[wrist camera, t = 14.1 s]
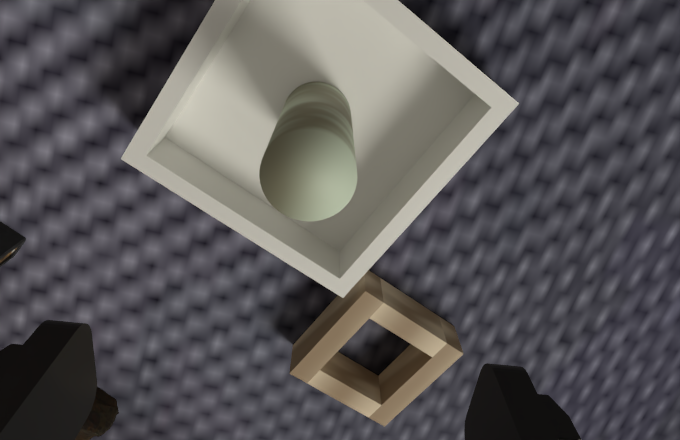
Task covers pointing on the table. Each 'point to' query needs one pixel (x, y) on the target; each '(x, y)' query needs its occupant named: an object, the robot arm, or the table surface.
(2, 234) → the ammunition clip
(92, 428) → the hand tool
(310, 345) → the holder
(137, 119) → the table surface
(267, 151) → the dowel
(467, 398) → the table surface
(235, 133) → the tray
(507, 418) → the robot arm
